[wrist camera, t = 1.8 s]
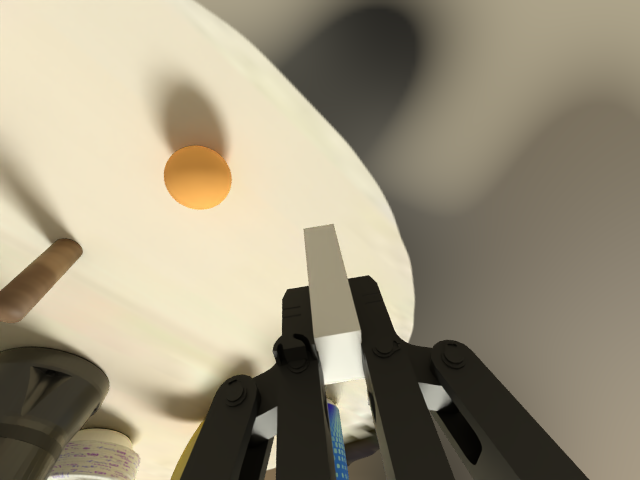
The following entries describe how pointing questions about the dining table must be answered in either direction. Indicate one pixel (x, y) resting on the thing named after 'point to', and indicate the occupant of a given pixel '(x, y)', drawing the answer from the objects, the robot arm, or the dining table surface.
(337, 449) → the beer can
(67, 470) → the paper bowls
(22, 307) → the post
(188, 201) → the ball
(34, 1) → the dining table surface
